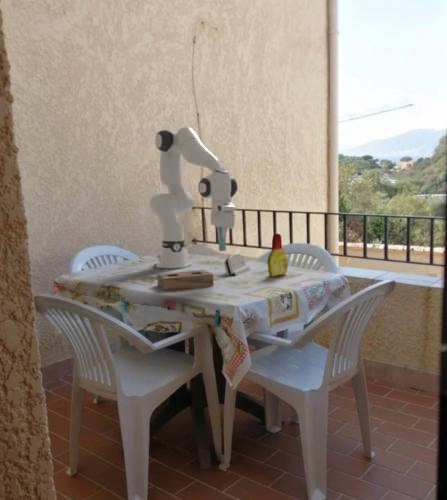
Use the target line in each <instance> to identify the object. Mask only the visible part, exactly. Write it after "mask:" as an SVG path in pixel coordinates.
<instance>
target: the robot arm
mask: <svg viewBox="0 0 447 500" xmlns="http://www.w3.org/2000/svg"><path fill="white" fill-rule="evenodd" d="M155 146H156V149H158V150H159V151H160V153H159V154H160V157H159V173H160V182H161V183H162V185H164V186H166V187H167V189H168V193H167V192H166V193H159V194H155V195H153V196H152V197H150V201H149V208H150V211H151V212H152V214H154V215H156V216H157V218H158V220H159V221H160V225H161V230H162V242H161V247H162V248H161V249H160V252H159V253H158V254H156V258H157V259H158V261H156V262H155V266H156V268H157V269H181V268H186V267H188V266H192V262H189V261H190V259H189V251H188V249H186V239H185V232H184V228H185V227H184V224H182V222H180V221H178V220H177V218H176V215H177V214H178V215H179V214H185V213H188V212H190V211H192V210H193V208H194V204H195V202H194V197H193V195H191V194H190V193H189V192H188V191H187V189H186V187H185V185H184V182H183V181H184V180H183V174H182V173H183V172H182V171H183V170H182V158H181V156H182V157H183V158H184V160H185V161H186V162H187V163H189V164H191V165H194V166H199V167H203V168H205V169H208V170H210V171H211V173H210V174H209V175H207V176H205V177H202V178H201V179H200V181H199V183H198V193H199V194H200V195H201V197H202V198H205V199H211V211H210V224H211V226H214V227H216V231H217V236H218V237H219V227H221V228H222V234H221V235H222V238H227V233H228V229H229V230H230V229H234V227H235V216H236V215H235V212H236V206H235V205H234V203H233V202H232V198H233V197H234V196H235V195H236V193H237V192H238V183H237V180H236V179H235V178H234V177H233V176H232V175H231V173H230V172H229V170H227V169H226V168H225V166H224V165H223V164H222V162H221V161H220V159H219V158H218V157H217V156H216V155H215V154H214V153H213V152H212V151H210V150H209V149H208V148H207V147H206V146H205V145H204V144H203V142H202V140H201V139H200V137H199V135H198V134H197V132H196V131H195V130H194V129H193V128H192V127H189V126H183V127H181V128H178V129H169V130H167V129H163V130H160V131H158V132H157V133H156V136H155Z"/></svg>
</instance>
